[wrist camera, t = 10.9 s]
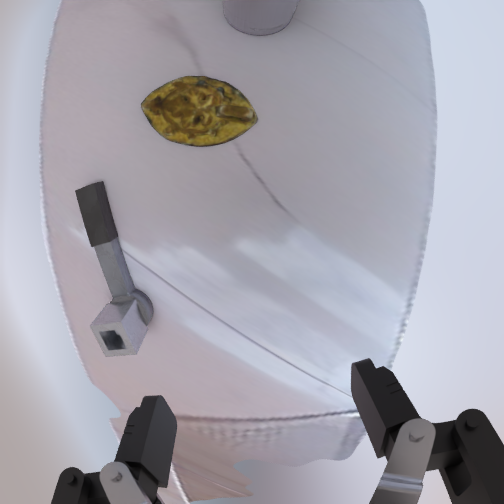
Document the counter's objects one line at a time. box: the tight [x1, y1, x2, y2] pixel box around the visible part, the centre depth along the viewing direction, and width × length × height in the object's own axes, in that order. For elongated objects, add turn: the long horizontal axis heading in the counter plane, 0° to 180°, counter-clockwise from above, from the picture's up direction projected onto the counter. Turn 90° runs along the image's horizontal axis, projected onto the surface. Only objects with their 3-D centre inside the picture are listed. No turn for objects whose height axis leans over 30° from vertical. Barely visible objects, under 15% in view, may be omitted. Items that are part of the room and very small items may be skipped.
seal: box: [141, 76, 257, 147], centre depth 31 cm, size 9×5×15 cm
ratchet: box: [75, 181, 153, 335], centre depth 35 cm, size 22×6×6 cm, turn 12°
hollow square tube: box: [90, 299, 148, 357], centre depth 34 cm, size 5×5×6 cm
